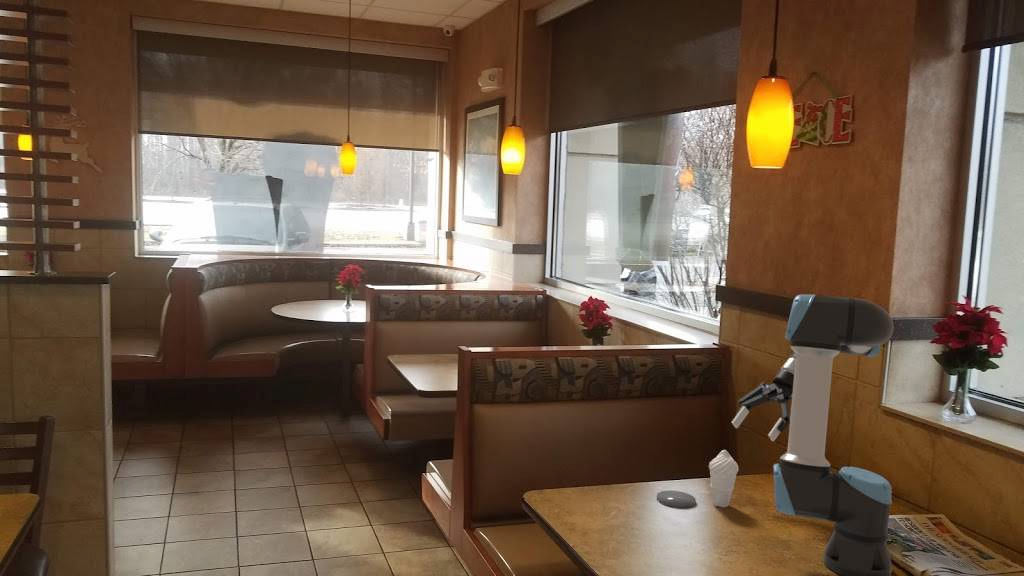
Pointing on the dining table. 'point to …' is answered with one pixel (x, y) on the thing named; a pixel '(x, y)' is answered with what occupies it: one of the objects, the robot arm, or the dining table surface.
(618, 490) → the dining table surface
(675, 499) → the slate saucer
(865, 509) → the robot arm
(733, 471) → the soft serve ice cream cone
